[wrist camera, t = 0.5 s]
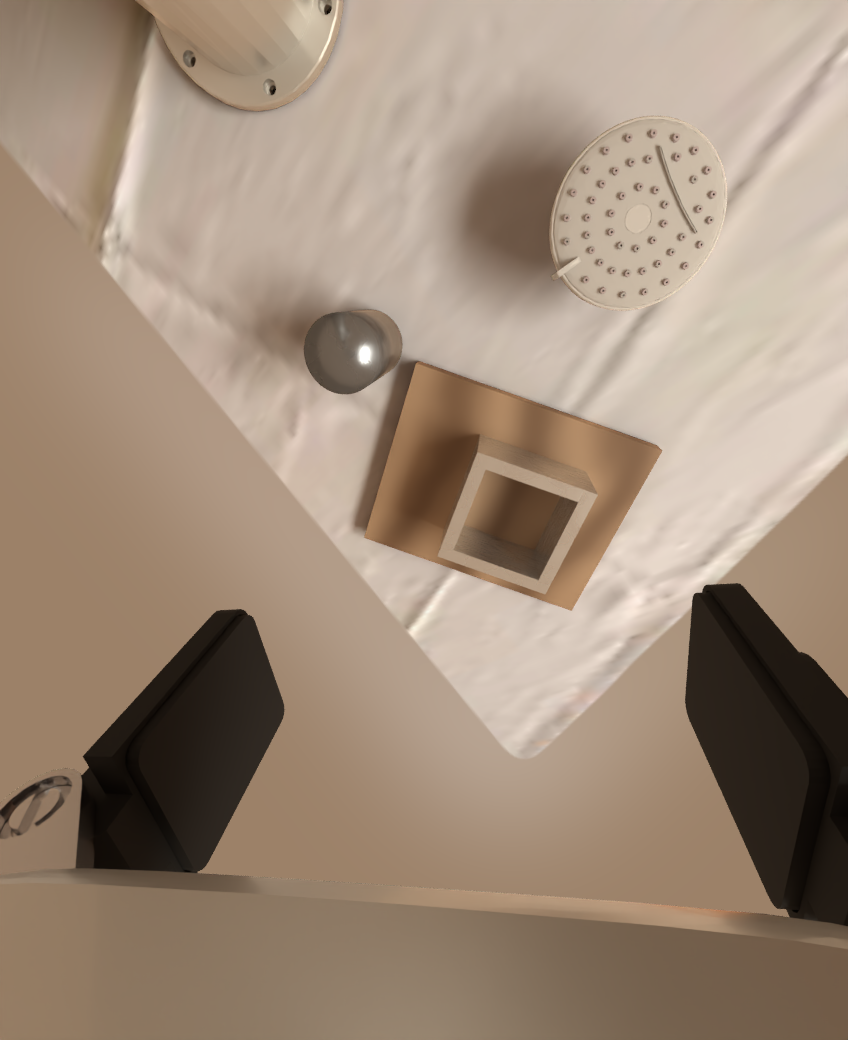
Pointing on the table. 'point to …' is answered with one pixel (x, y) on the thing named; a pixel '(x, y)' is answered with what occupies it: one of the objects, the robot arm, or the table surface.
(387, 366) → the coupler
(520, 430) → the board
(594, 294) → the showerhead
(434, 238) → the table surface
